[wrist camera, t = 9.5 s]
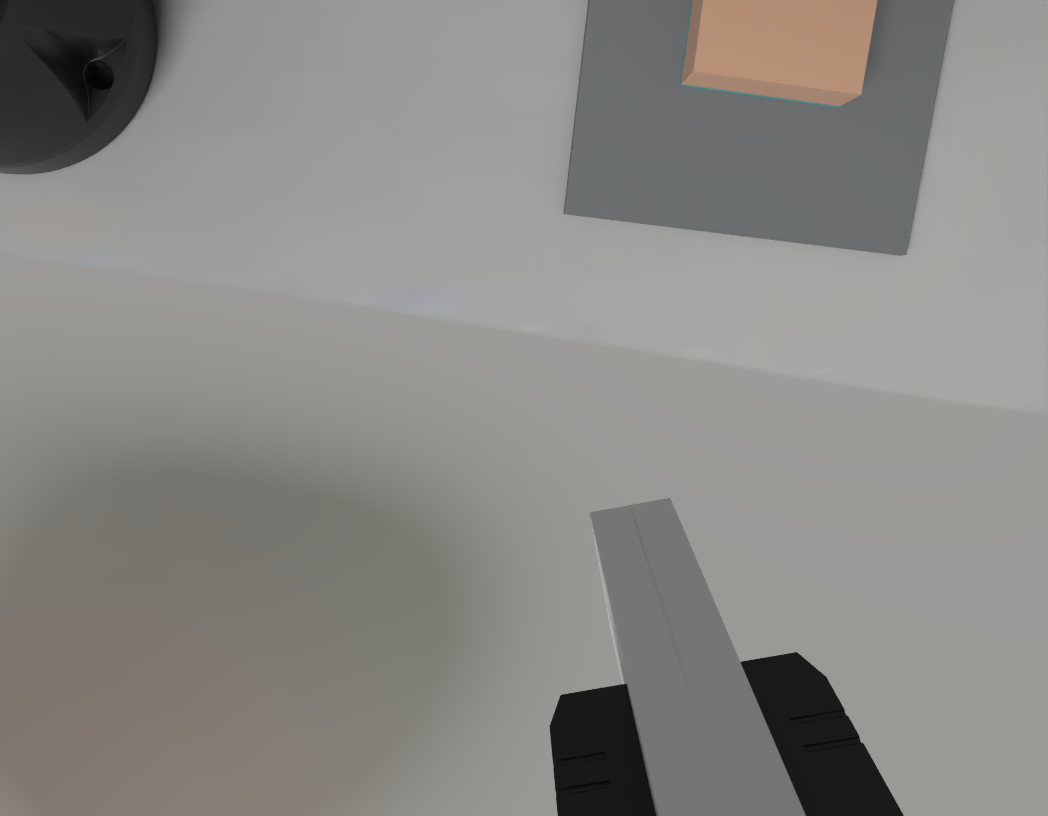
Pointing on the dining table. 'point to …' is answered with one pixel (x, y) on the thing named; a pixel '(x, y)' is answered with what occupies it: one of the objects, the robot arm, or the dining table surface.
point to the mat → (752, 135)
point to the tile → (779, 48)
